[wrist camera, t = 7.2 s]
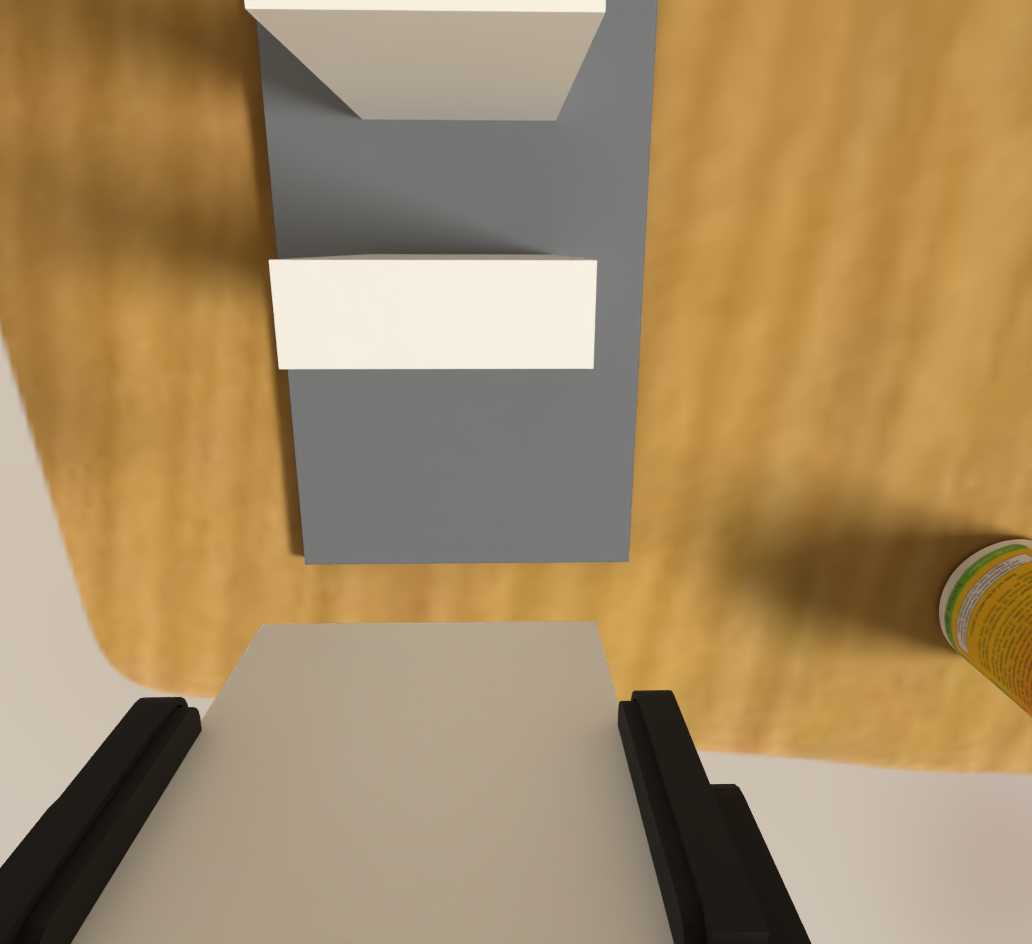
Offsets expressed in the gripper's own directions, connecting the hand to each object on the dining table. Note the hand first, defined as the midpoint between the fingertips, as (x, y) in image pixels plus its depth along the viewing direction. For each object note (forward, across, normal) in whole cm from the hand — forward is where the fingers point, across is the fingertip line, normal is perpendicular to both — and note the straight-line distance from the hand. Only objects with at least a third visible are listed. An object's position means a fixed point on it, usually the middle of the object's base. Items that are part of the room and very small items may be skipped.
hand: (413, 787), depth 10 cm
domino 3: (+16, 0, -12) cm, 20 cm away
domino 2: (+16, 0, -6) cm, 17 cm away
